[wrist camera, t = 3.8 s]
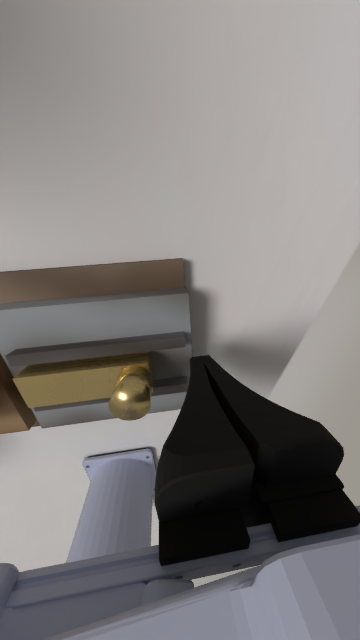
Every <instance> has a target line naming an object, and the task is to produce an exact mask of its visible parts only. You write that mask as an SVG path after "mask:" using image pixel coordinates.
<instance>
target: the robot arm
mask: <svg viewBox="0 0 360 640" xmlns="http://www.w3.org/2000/svg"><path fill="white" fill-rule="evenodd" d="M343 456H344V451H343V447H342V446H341V445H340V443H339V442H338V441H337V440H336V439H335V438H334V437H333V436H332V435H331V434H330V432H329V431H328V430H327V429H326V428H325V427H324V426H323V425H322V424H320V422H317V421H315V420H312V419H310V418H307V417H305V416H302V415H300V414H297V413H295V412H292V411H290V410H288V409H286V408H284V407H281V406H279V405H277V404H275V403H273V402H271V401H270V400H268V399H266V398H264V397H262V396H260V395H259V394H257V393H255V392H254V391H252V390H251V389H249V388H247V387H246V386H244V385H243V384H242V383H240V382H239V381H237V380H236V379H235V378H234V377H232V376H231V375H230V374H229V373H227V372H226V371H225V370H224V369H223V368H222V367H221V366H220V365H218V364H217V363H216V362H215V361H214V360H213V359H212V358H211V357H210V356H209V355H207V356H198V357H191V358H190V380H189V385H188V389H187V393H186V396H185V400H184V403H183V406H182V408H181V411H180V413H179V416H178V418H177V420H176V422H175V425H174V427H173V429H172V431H171V433H170V434H169V436H168V438H167V440H166V442H165V444H164V445H163V449H162V452H161V456H160V460H159V463H158V468H157V473H156V468H155V463H154V458H153V454H152V450H151V449H141V450H135V451H128V452H122V453H116V454H109V455H103V456H96V457H90V458H85V459H84V460H83V462H82V465H83V467H84V469H85V471H86V473H87V475H88V477H89V480H90V486H89V489H88V492H87V496H86V499H85V502H84V505H83V509H82V512H81V515H80V518H79V522H78V525H77V528H76V531H75V535H74V538H73V541H72V544H71V548H70V551H69V554H68V558H67V561H66V563H64V564H59V565H54V566H49V567H44V568H38V569H33V570H28V571H23V572H19V571H18V569H17V567H16V566H14V565H12V564H9V563H0V640H360V506H354V505H353V503H352V502H351V501H350V499H349V498H348V497H347V495H346V494H345V493H344V491H343V490H342V489H343V488H344V485H343V483H342V482H341V481H340V479H339V478H338V477H337V476H336V472H337V470H338V468H339V466H340V464H341V462H342V459H343ZM152 495H155V506H156V511H157V515H158V519H159V545H156V546H151V523H152ZM257 565H260V566H257ZM253 566H257V567H254V568H251V569H248V570H245V571H242V572H239V573H236V574H233V575H230V576H227V577H225V578H222V579H219V580H216V581H213V582H210V583H207V584H204V585H201V586H198V587H195V588H194V584H193V582H192V581H191V580H192V579H196V578H201V577H205V576H210V575H215V574H220V573H224V572H229V571H233V570H238V569H243V568H248V567H253Z"/></svg>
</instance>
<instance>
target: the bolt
mask: <svg viewBox="0 0 360 640" xmlns="http://www.w3.org/2000/svg"><path fill="white" fill-rule="evenodd" d="M12 379H13V381H14V383H15V385H16V387H17V388H18V390H19V392H20V394H21V395H22V397H23V399H24V401H25V403H26V404H27V406H28V408H34V407H41V406H49V405H57V404H64V403H72V402H80V401H87V400H95V399H103V398H110V397H111V398H110V401H109V410H110V412H111V413H112V414H113V415H114V416H116V417H117V418H119V419H123V420H136V419H139V418H142V417H143V416H145V415H146V414H147V413H148V412H149V410H150V407H151V392H153V384H154V374H153V368H152V362H151V355H150V351H148V352H139V353H130V354H121V355H112V356H103V357H95V358H86V359H77V360H68V361H59V362H50V363H42V364H33V365H28V366H27V367H25V368H24V369H23V370H22V371H21V372H19V373H18V374H17V375H16V376H15V377H14V378H12Z"/></svg>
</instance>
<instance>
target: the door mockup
mask: <svg viewBox="0 0 360 640" xmlns="http://www.w3.org/2000/svg"><path fill="white" fill-rule="evenodd" d="M148 351H150V355H151V362H152V368H153V374H154V384H153V392H151V407H150V410H149V412H148V413H147V414H149V413H156V412H163V411H170V410H177V409H181V408H182V406H183V403H184V400H185V396H186V393H187V389H188V385H189V380H190V358H191V357H192V347H191V326H190V305H189V292H188V291H187V290H186V288H185V281H184V263H183V259H182V258H179V259H166V260H153V261H139V262H126V263H113V264H99V265H86V266H73V267H59V268H46V269H32V270H19V271H6V272H0V434H5V433H13V432H20V431H27V430H30V428H31V427H34V426H41V427H42V428H48V427H56V426H63V425H70V424H77V423H84V422H91V421H99V420H106V419H113V418H117V417H116V416H114V415H113V414H112V413H111V412H110V410H109V401H110V398H111V397H110V398H103V399H95V400H87V401H80V402H72V403H64V404H57V405H49V406H41V407H34V408H28V406H27V404H26V403H25V401H24V399H23V397H22V395H21V394H20V392H19V390H18V388H17V387H16V385H15V383H14V381H13V379H12V378H14V377H15V376H16V375H17V374H18V373H19V372H21V371H22V370H23V369H24V368H25V367H27V366H28V365H33V364H42V363H50V362H59V361H68V360H77V359H86V358H95V357H103V356H112V355H121V354H130V353H139V352H148Z"/></svg>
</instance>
